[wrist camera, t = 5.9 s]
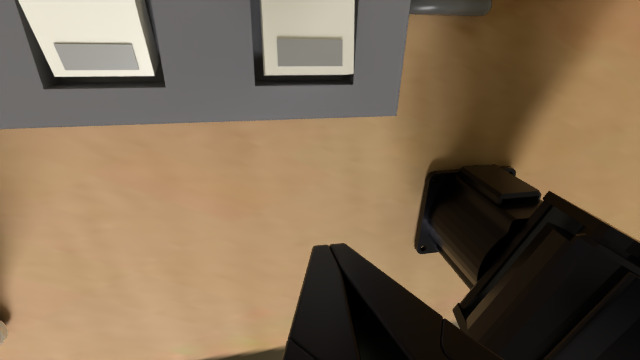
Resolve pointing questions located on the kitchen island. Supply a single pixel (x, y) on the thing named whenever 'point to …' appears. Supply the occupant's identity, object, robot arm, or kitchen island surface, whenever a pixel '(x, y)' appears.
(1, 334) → the lightbulb
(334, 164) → the kitchen island surface
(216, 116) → the rocker switch panel
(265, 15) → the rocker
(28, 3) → the rocker middle
